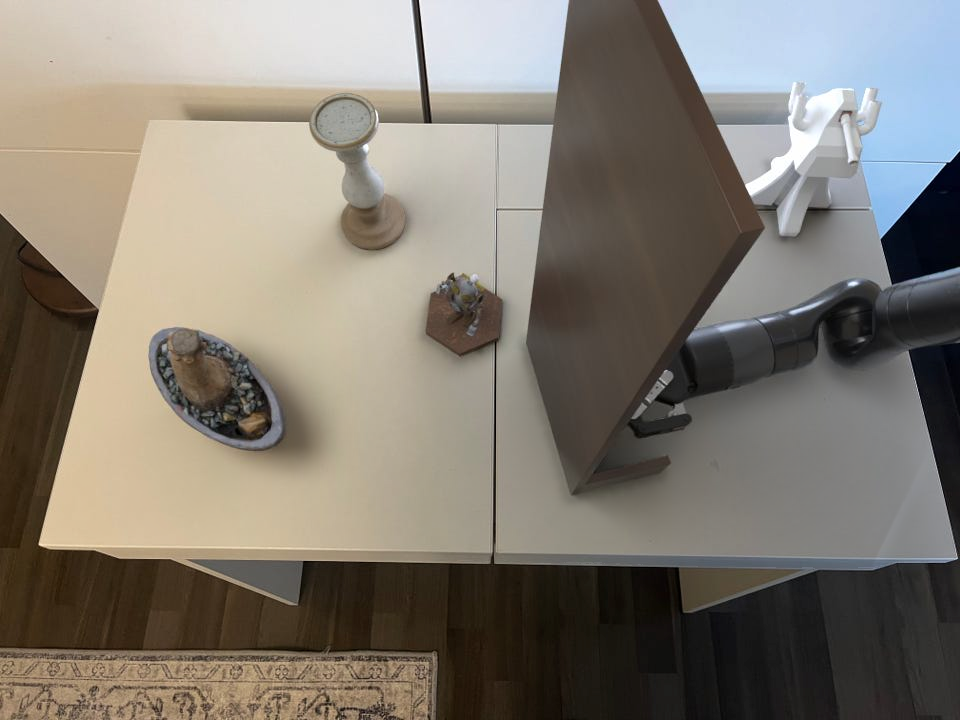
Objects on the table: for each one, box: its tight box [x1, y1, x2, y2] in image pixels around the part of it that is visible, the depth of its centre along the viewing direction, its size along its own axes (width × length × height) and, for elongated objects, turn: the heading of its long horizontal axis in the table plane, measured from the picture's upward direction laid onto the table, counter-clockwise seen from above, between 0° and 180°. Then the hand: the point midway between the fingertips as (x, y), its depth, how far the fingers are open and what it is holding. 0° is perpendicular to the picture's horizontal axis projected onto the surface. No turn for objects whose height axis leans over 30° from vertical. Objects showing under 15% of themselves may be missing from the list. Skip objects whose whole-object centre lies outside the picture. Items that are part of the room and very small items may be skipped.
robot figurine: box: [425, 272, 503, 357], centre depth 79 cm, size 11×9×12 cm
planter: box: [147, 326, 287, 452], centre depth 72 cm, size 15×17×20 cm
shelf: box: [525, 0, 766, 496], centre depth 54 cm, size 11×20×56 cm, turn 14°
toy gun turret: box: [745, 82, 883, 238], centre depth 82 cm, size 12×13×18 cm
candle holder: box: [308, 92, 406, 251], centre depth 81 cm, size 9×9×20 cm
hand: (581, 390), depth 74 cm, fingers closed on supplement box, 7 cm apart
